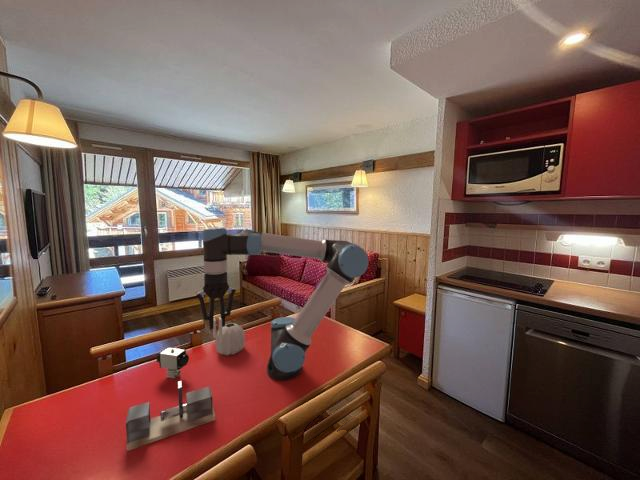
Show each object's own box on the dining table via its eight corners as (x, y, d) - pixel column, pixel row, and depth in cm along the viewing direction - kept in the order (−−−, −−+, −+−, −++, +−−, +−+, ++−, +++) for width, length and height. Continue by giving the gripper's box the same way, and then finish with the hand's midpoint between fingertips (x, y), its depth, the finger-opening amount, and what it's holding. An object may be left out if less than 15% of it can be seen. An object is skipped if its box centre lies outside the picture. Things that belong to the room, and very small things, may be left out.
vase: (249, 353, 129) (248, 326, 128) (219, 362, 121) (218, 334, 120) (240, 341, 140) (239, 317, 139) (212, 348, 133) (211, 323, 131)
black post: (207, 403, 93) (206, 372, 92) (209, 412, 89) (208, 380, 88) (161, 418, 86) (159, 385, 85) (160, 428, 82) (159, 394, 81)
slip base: (211, 402, 96) (210, 381, 95) (215, 419, 88) (214, 397, 87) (130, 428, 84) (128, 404, 83) (126, 451, 76) (124, 425, 75)
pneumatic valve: (182, 381, 107) (180, 353, 106) (157, 377, 109) (155, 350, 108) (191, 373, 112) (190, 346, 111) (167, 369, 115) (166, 343, 113)
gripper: (234, 267, 99) (235, 327, 102) (192, 271, 92) (194, 336, 95) (239, 272, 93) (240, 336, 95) (193, 276, 86) (196, 345, 88)
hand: (217, 336), depth 95 cm, fingers closed
